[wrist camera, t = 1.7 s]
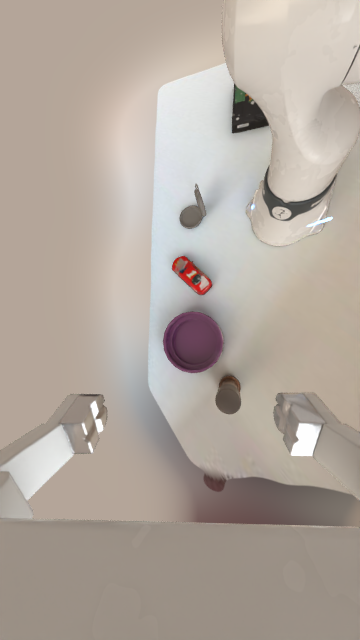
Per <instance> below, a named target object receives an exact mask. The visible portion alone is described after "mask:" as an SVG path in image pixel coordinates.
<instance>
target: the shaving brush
mask: <svg viewBox="0 0 360 640" xmlns="http://www.w3.org/2000/svg"><path fill="white" fill-rule="evenodd" d="M216 405H217V407H218V408H219V410H220V411H222V412H223V413H226V414H234V413H236V412H237V411H238V410H239V409H240V406H241V397H240V383H239V381H238V380H237V379H236V378H235V377H233V376H225V377H223V378H222V379H221V380H220V383H219V389H218V392H217V395H216Z"/></svg>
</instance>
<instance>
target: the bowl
mask: <svg viewBox="0 0 360 640" xmlns="http://www.w3.org/2000/svg"><path fill="white" fill-rule="evenodd" d="M163 345H164V351H165V353H166V356H167V358H168V360H169V361H170V362H171V363H172V364H173V365H174V366H175V367H176V368H178V369H180V370H182V371H184V372H189V373H198V372H203V371H205V370H207V369H209V368H211V367H212V366H213V365H214V364H215V363H216V362H217V361H218V359H219V357H220V355H221V353H222V351H223V345H224V339H223V333H222V331H221V329H220V327H219V325H218V324H217V323H216V322H215V321H214V320H213V319H212V318H211V317H209V316H207V315H205V314H203V313H200V312H186V313H182V314H180V315H179V316H177V317H175V318H174V319H173V320H172V321H171V322H170V323H169V324H168V326H167V328H166V330H165V333H164V339H163Z"/></svg>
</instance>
